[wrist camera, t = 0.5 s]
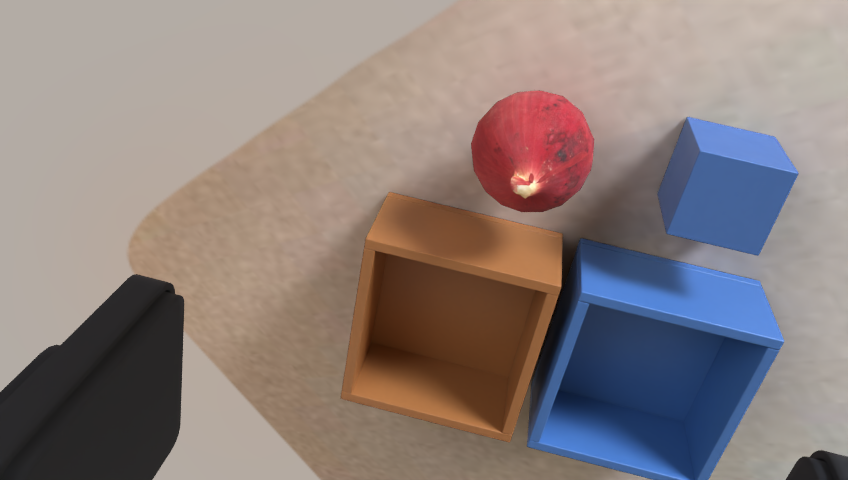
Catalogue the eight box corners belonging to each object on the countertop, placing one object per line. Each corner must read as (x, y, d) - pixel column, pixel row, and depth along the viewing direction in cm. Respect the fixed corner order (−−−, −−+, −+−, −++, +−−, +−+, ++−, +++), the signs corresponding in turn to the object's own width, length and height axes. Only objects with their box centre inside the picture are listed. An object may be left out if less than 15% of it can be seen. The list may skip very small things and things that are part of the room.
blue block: (686, 116, 37) (700, 150, 33) (775, 136, 37) (799, 173, 33) (656, 194, 39) (666, 234, 36) (740, 213, 39) (758, 256, 35)
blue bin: (580, 237, 42) (581, 291, 37) (760, 280, 41) (785, 341, 36) (531, 384, 47) (526, 447, 42) (688, 423, 47) (701, 492, 42)
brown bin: (388, 191, 42) (365, 238, 37) (562, 233, 42) (561, 286, 37) (363, 341, 48) (340, 398, 43) (516, 380, 47) (509, 442, 42)
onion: (564, 51, 37) (563, 104, 30) (609, 149, 39) (617, 219, 32) (461, 100, 39) (438, 159, 32) (509, 190, 41) (496, 264, 34)
